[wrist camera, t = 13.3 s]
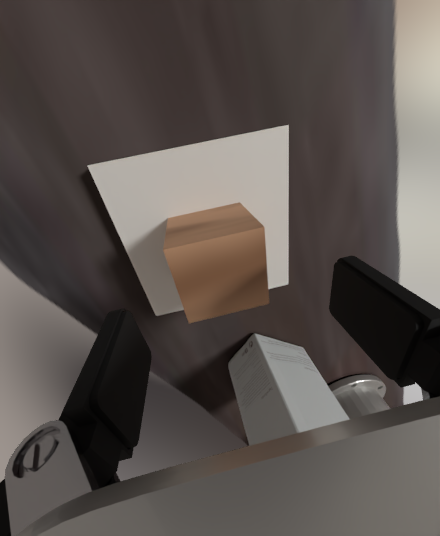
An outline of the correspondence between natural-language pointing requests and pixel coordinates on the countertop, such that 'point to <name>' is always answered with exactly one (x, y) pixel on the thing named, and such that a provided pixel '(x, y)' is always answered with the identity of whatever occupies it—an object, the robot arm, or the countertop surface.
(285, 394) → the skincare box
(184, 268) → the wooden cube
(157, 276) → the chopping board
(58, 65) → the countertop surface
